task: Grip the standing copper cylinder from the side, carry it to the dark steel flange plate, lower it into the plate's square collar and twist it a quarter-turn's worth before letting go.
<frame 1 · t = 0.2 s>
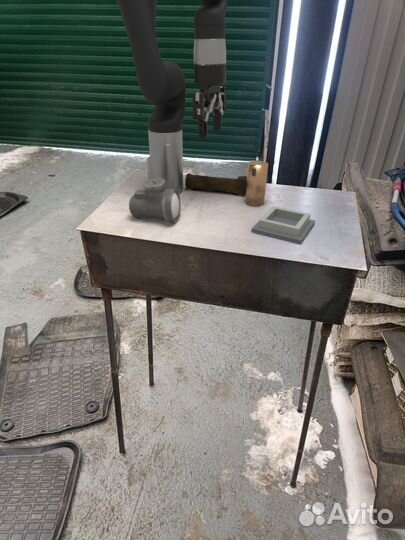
hand: (210, 133, 97), 18 cm above the table, fingers open, 8 cm apart
hand tool: (223, 192, 113), on the table
copper cylinder: (254, 203, 105), on the table
pipe fitting: (155, 219, 96), on the table
duct flange: (283, 228, 92), on the table
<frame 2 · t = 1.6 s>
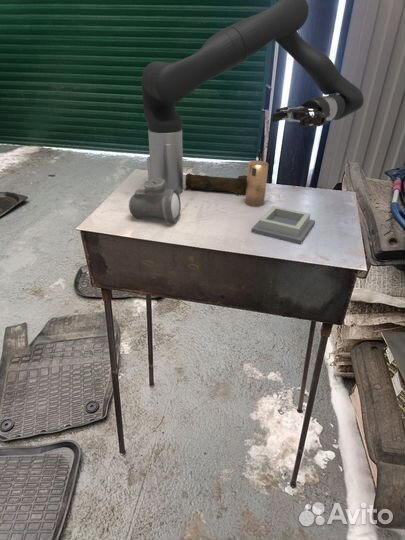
hand: (287, 120, 101), 20 cm above the table, fingers open, 8 cm apart
nothing on the table moved.
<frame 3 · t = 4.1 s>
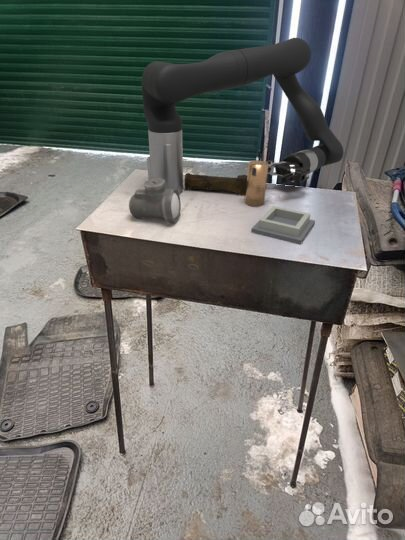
hand: (269, 176, 105), 6 cm above the table, fingers open, 8 cm apart
hand tool: (222, 191, 113), on the table, touching gripper
everything else where it was.
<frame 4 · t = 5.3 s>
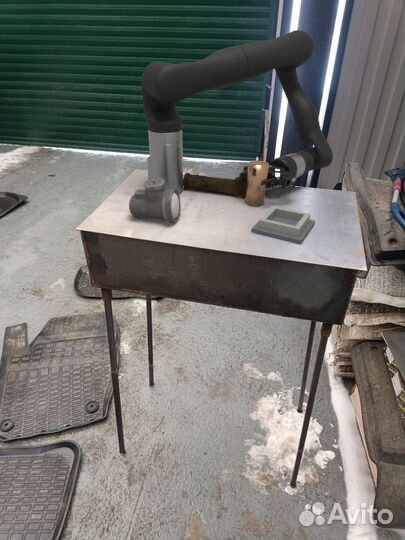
hand: (253, 181, 101), 7 cm above the table, fingers open, 8 cm apart
hand tool: (221, 193, 112), on the table, touching gripper
everything else where it was.
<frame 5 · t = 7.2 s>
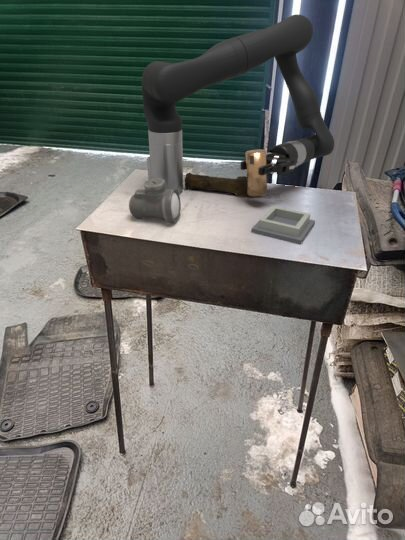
hand: (251, 168, 98), 10 cm above the table, fingers closed on copper cylinder, 5 cm apart
hand tool: (223, 192, 112), on the table
copper cylinder: (257, 193, 103), point 3 cm above the table, tilted 8°, touching gripper
everything else where it was.
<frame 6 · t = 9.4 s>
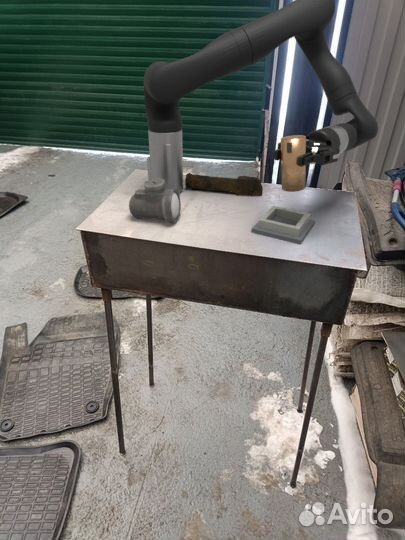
hand: (287, 158, 81), 17 cm above the table, fingers closed on copper cylinder, 5 cm apart
copper cylinder: (293, 188, 86), point 10 cm above the table, tilted 9°, touching gripper
when the fingers open (8 cm above the table, at t = 11.8 s): copper cylinder stays where it is, resting on duct flange.
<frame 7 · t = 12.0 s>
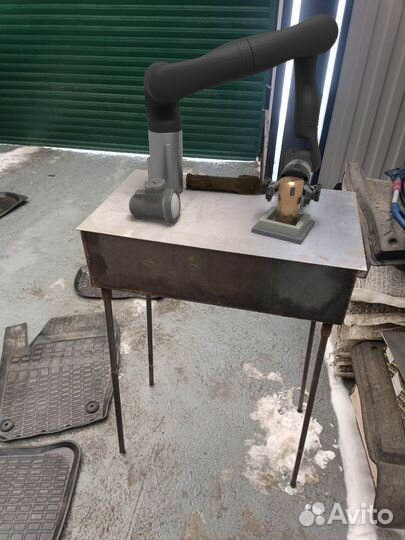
hand: (286, 200, 86), 8 cm above the table, fingers open, 7 cm apart
copper cylinder: (285, 224, 92), point 1 cm above the table, touching duct flange
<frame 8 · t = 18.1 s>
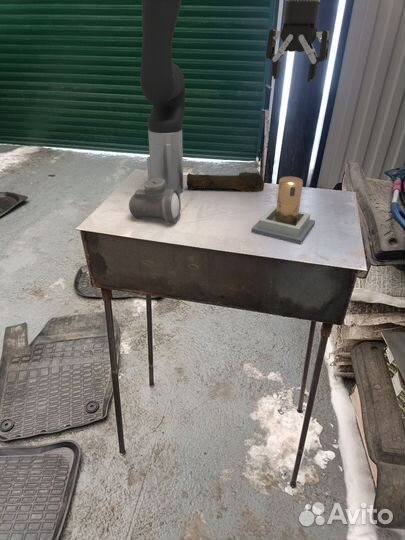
hand: (292, 80, 93), 30 cm above the table, fingers open, 8 cm apart
hand tool: (224, 190, 114), on the table
everything else where it was.
at the end: copper cylinder 0.4 cm off-centre on the duct flange, point 1.1 cm above the duct flange's base; copper cylinder tilted 2°; the gripper is holding nothing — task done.
